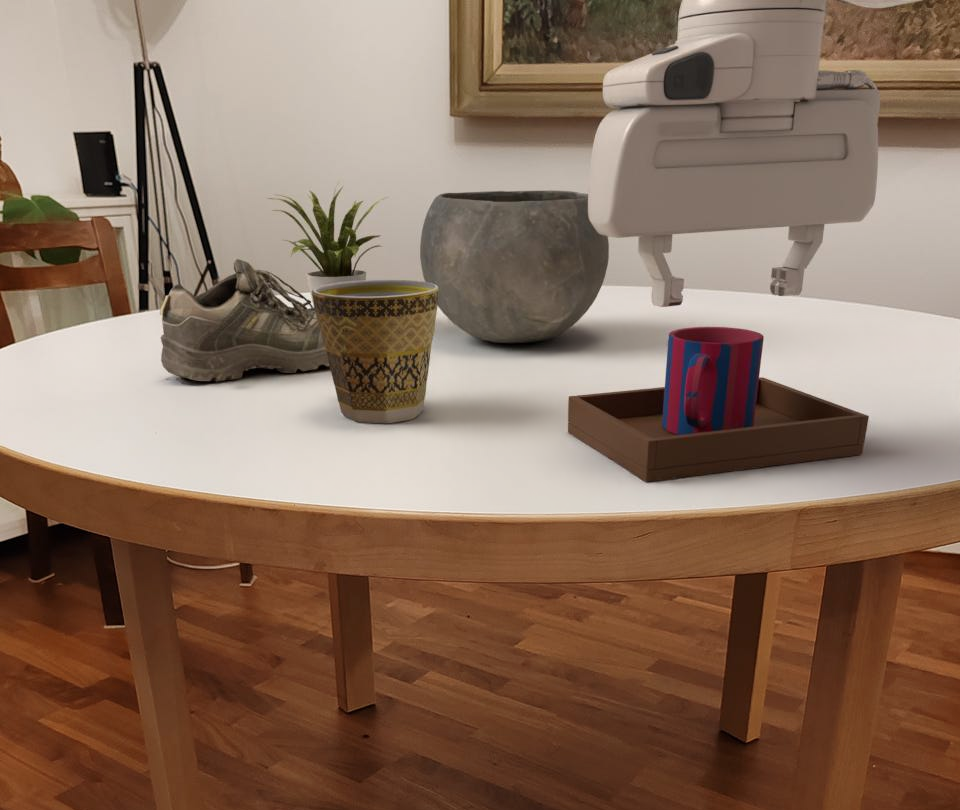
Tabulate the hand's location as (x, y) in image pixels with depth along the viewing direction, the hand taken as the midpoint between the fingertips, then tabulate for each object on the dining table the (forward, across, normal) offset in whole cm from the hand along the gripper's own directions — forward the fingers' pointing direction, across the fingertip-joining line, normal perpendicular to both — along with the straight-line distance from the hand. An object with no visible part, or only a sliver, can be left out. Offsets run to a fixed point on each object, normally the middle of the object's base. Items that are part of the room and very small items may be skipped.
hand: (727, 300), depth 68 cm
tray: (+10, 0, 0) cm, 10 cm away
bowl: (+10, 0, -44) cm, 45 cm away
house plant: (+10, +18, -60) cm, 63 cm away
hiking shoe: (+10, +28, -39) cm, 49 cm away
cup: (+10, +1, 0) cm, 10 cm away
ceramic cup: (+10, +22, -19) cm, 30 cm away
